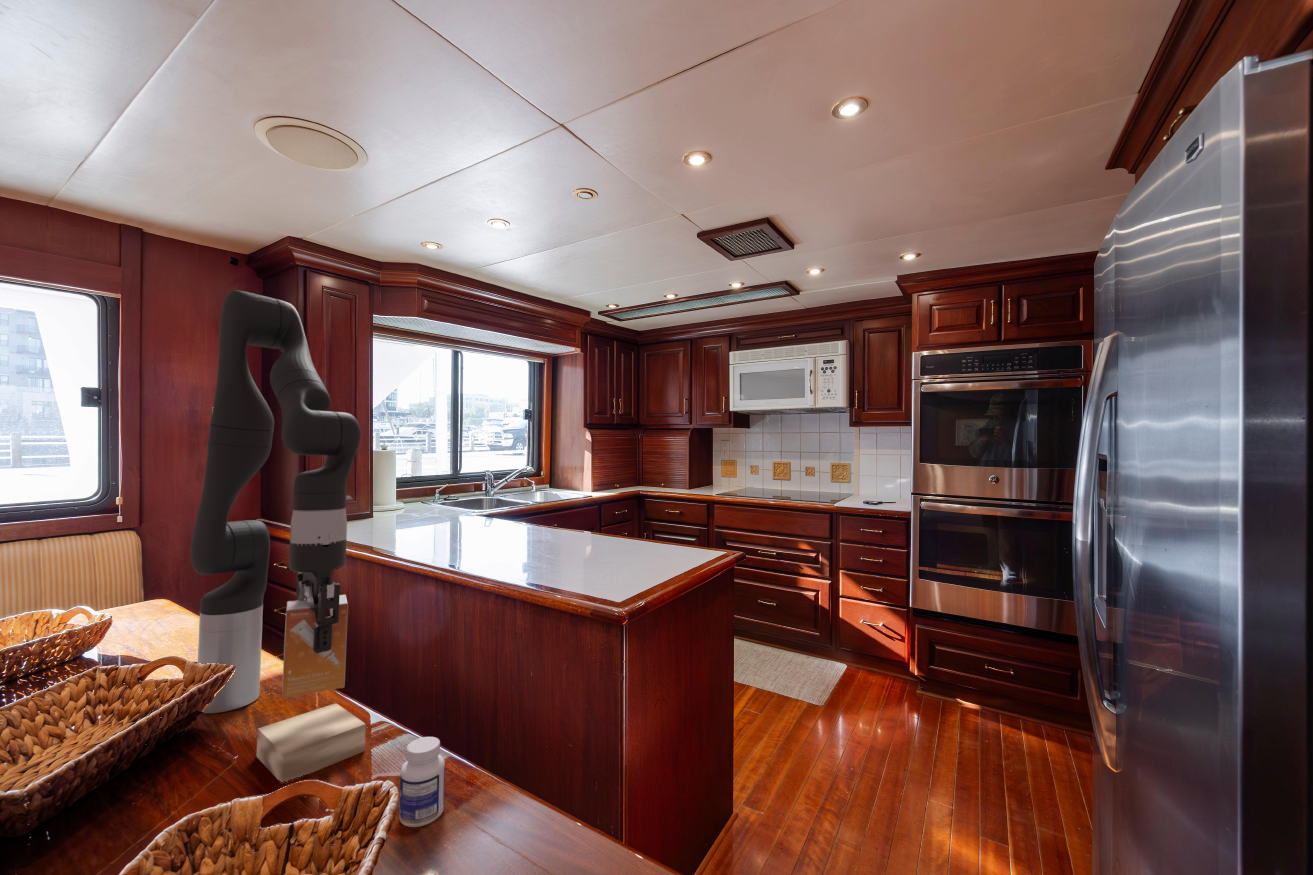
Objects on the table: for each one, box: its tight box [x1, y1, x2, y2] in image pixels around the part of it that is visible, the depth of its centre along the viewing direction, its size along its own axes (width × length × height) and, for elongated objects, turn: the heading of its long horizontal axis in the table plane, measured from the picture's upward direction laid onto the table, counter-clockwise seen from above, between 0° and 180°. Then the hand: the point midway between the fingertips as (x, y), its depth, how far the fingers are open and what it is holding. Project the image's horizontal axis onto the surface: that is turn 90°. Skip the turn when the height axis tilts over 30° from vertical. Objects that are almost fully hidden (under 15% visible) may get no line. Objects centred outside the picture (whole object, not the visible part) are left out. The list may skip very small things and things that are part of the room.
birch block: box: [256, 703, 367, 783], centre depth 82 cm, size 11×11×4 cm
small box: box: [281, 594, 349, 700], centre depth 83 cm, size 8×6×13 cm
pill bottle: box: [398, 736, 446, 828], centre depth 69 cm, size 5×5×9 cm
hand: (315, 644), depth 83 cm, fingers closed on small box, 7 cm apart
